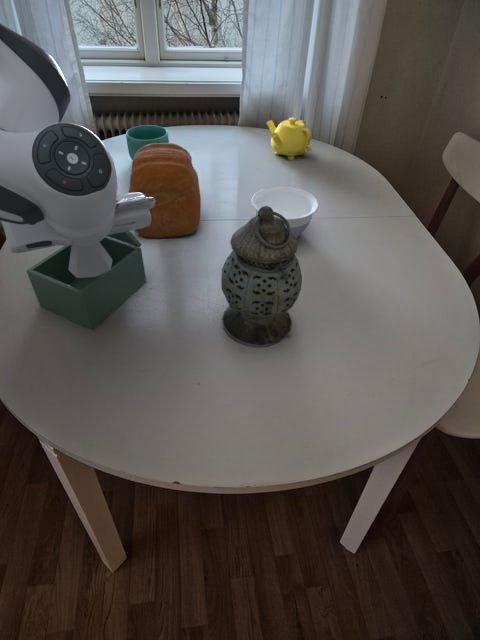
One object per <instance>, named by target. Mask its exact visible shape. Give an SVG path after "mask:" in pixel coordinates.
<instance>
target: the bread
mask: <svg viewBox="0 0 480 640" xmlns="http://www.w3.org/2000/svg"><path fill="white" fill-rule="evenodd" d="M192 160H193V159H192V156H191V154H190V152H189V151H188V150H187V149H186V148H184V147H183V146H181V145H179V144H176V143H173V142H169V143H152V144H148V145H145V146H143V147H142V148H141V149H139V150H138V151H137V152H136V153H135V155H134V158H133V160H132V162H131V163H132V164H131V170H130V171H131V173H130V176H129V185H128V193H142V194H144V195H145V197H146V198H149V197H153V198H154V199H155V205H154V207H153V208H151V209H149V211H150V214H151V224H150V225H149V226H147V227H145V228H141V229H136V230H135V231H136V233H137V235H139V236H141V237H144V238H172V237H182V236H188V235H190V234H192V233H194V232H195V231H196V230H197V228H198V227H199V225H200V219H201V205H202V204H201V189H200V181H199V180H200V179H199V174H198V172H197V171H196V169H195V167H194V165H193V163H192V162H193V161H192ZM128 193H127V194H128Z"/></svg>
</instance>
